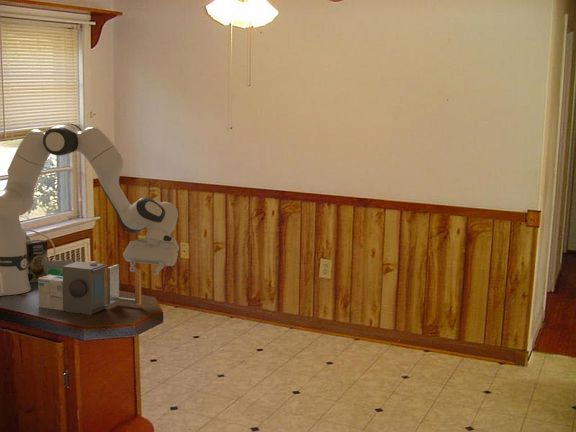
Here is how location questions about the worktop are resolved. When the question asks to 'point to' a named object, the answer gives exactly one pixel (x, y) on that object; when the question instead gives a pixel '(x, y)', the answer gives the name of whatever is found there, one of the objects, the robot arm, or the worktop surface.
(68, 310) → the camera body
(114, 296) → the side door
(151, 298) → the worktop surface
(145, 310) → the worktop surface
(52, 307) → the light bulb box
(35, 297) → the worktop surface
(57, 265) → the food container
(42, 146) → the robot arm
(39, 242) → the coffee box
